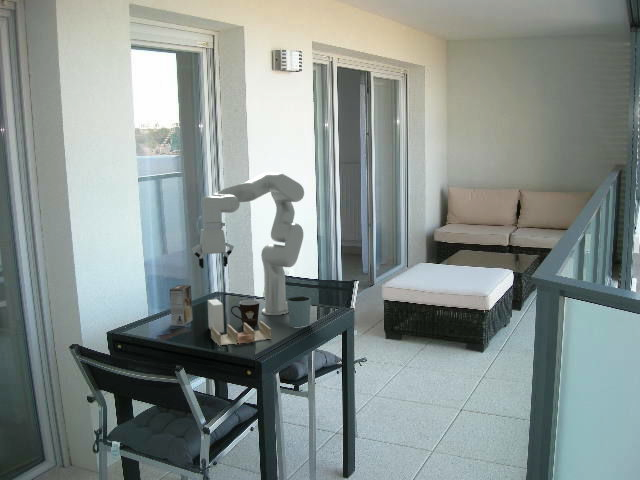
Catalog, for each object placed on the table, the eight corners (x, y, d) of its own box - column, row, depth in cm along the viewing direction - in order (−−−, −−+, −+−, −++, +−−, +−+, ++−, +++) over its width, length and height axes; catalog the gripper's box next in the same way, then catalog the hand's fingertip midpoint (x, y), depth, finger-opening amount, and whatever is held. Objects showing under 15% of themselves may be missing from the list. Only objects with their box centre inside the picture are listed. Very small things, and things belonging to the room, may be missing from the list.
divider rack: (261, 331, 287) (261, 320, 286) (271, 340, 275) (271, 328, 274) (211, 337, 279) (210, 326, 279) (219, 346, 267) (219, 335, 266)
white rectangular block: (217, 326, 296) (216, 299, 294) (223, 332, 287) (222, 304, 285) (208, 327, 294) (207, 300, 293) (214, 333, 285) (213, 305, 283)
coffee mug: (263, 323, 300) (262, 300, 298) (255, 328, 292) (254, 305, 290) (239, 321, 303) (238, 299, 302) (230, 326, 295) (229, 303, 294)
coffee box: (179, 320, 307) (177, 284, 305) (193, 320, 306) (191, 285, 303) (171, 325, 298) (169, 289, 296) (184, 326, 297) (183, 289, 295)
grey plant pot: (315, 324, 297) (314, 296, 296) (304, 330, 288) (304, 302, 286) (294, 321, 302) (293, 294, 300) (283, 327, 293) (282, 300, 291)
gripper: (230, 224, 291) (231, 264, 293) (189, 226, 285) (191, 267, 287) (235, 226, 284) (236, 267, 287) (193, 228, 278) (194, 270, 280)
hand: (213, 267), depth 287 cm, fingers open, 9 cm apart
